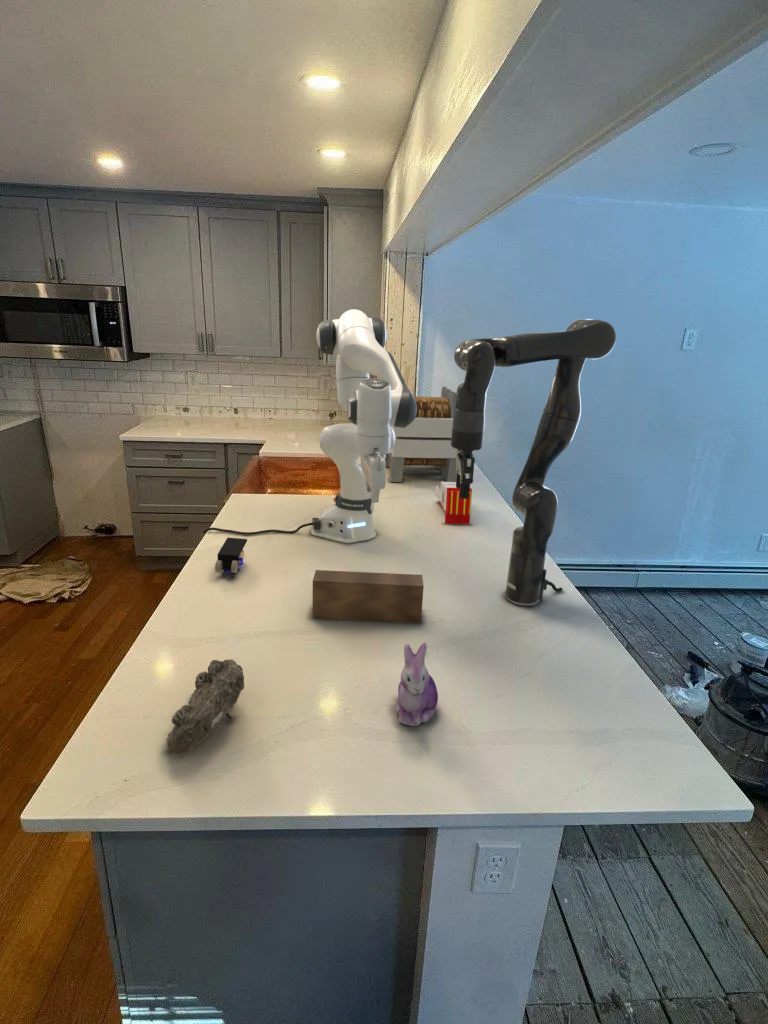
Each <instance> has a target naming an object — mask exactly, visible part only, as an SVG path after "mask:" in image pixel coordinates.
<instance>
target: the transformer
mask: <svg viewBox="0 0 768 1024" xmlns="http://www.w3.org/2000/svg"><path fill="white" fill-rule="evenodd" d="M440 393H441V394H440V396H415V395H413V396H414V398H415V400H416V405H417V414H416V418H415V419H414V421H413V422H412V423H411V424H409V425H408V426H407V427H405V428H400V427H392V428H393V430H394V432H395V436H396V441H395V445H394V447H393V449H392V450H391V452H390V453H388V454H386V458H385V467H388V468H389V475H388V476H389V477H388V478H389V480H390V482H391V483H402V482H403V475H404V469H405V466H406V467H407V466H411V467H412V466H413V467H415V466H416V467H417V466H418V467H436V468H437V470H438V469H439V473H440V474H441V475H443V478H444V479H445V482H456V478H457V473H456V469H457V468H456V467H455V466H456V455H457V450H458V449H455V448H453V447H452V446H451V436H452V425H453V416H454V411H455V402H456V392H455V391H453V390H452V389H451V388H447V386H442V387H441V392H440Z"/></svg>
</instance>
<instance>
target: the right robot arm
mask: <svg viewBox="0 0 768 1024" xmlns="http://www.w3.org/2000/svg"><path fill="white" fill-rule="evenodd" d="M616 341H617V333H616V330H615V328H614V326H613V325H612V324H611V323H610V322H608V321H605V320H604V319H603V320H602V319H594V318H579V319H575V320H574V321H573V322H571V323H570V324H569V325H568V327H567V328H566V330H564V331H554V332H553V331H551V332H550V331H549V332H530V333H529V332H527V333H519V334H511V335H506V336H501V337H488V338H487V337H484V338H471V339H467V340H464V341H462V342H460V343H459V345H457V347H456V348H455V351H454V354H453V360H454V363H455V365H456V366H457V367H458V368H459V369H461V370H462V371H465V376H464V380H463V382H461V383H459V384H458V385H457V388H456V392H455V393H456V402H455V411H454V416H453V425H452V436H451V446H452V447H453V448H455V449H458V450H457V455H456V466H455V467H456V468H457V469H456V473H457V478H456V487H457V488H460V498H461V499H468V498H469V492H470V488H471V485H472V484H473V483H474V469H475V462H476V458H475V456H474V454H473V452H474V451H479V450H481V449H482V448H483V444H484V443H483V442H484V434H485V426H486V425H485V424H486V405H487V404H486V403H487V392H488V389H489V387H490V384H491V381H492V378H493V375H494V372H495V368H496V367H499V368H512V367H513V368H514V367H518V366H519V367H520V366H524V365H530V364H536V363H541V362H547V361H548V362H549V361H555V360H557V363H556V364H557V365H556V369H555V373H554V376H553V380H552V383H551V386H550V389H549V392H548V396H547V400H546V401H545V405H544V407H543V411H542V414H541V416H540V420H539V423H538V426H537V430H536V432H535V437H534V439H533V442H532V445H531V448H530V450H529V454H528V457H527V459H526V461H525V464H524V467H523V469H522V471H521V472H520V475H519V478H518V480H517V482H516V484H515V486H514V489H513V492H512V497H511V503H512V506H513V508H514V510H515V511H516V512H518V513H520V514H521V515H523V516H524V522H523V525H522V526H518V527H516V528H514V529H513V533H512V539H511V540H512V541H511V547H510V555H509V563H508V570H507V579H506V584H505V585H506V586H505V592H504V598H505V600H506V601H508V602H509V603H511V604H514V605H517V606H521V607H533V606H535V605H537V604H539V602H542V601H543V596H544V591H546V590H547V589H548V588H547V587H548V586H550V587H551V588H552V590H553V591H554V592H557V593H559V592H562V591H563V588H562V587H558V588H557V586H556V584H555V583H553V582H552V581H550V580H548V579H547V578H546V576H547V569H546V568H545V563H546V562H545V561H546V556H547V549H548V542H549V539H550V537H551V536H552V534H553V531H554V528H555V527H554V526H555V521H556V516H557V512H558V507H559V505H558V504H559V500H558V496H557V494H556V493H555V491H554V490H553V489H551V488H549V487H547V486H545V482H546V478H547V475H548V473H549V470H550V469H551V466H552V465H553V463H554V462H555V460H556V459H557V458H558V457H559V456H560V455H562V453H563V452H564V451H565V450H566V449H567V448H568V447H569V446H570V444H571V443H572V441H573V440H574V436H575V433H576V431H577V429H578V427H579V426H578V425H579V423H580V419H581V416H582V415H581V414H582V398H581V390H580V381H581V375H582V372H583V368H584V366H585V363H586V361H587V360H599V359H602V358H604V357H606V356H608V355H609V354H610V353H611V352H612V350H613V349H614V347H615V344H616ZM467 476H468V477H467Z"/></svg>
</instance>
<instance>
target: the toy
mask: <svg viewBox="0 0 768 1024" xmlns="http://www.w3.org/2000/svg"><path fill="white" fill-rule="evenodd" d="M434 497H435V498H436V499H437V503H438V504H439V505H440V506H441V508H443V510H444V511H445V515H444V524H448V525H449V524H451V525H470V522H471V521H470V520H471V515H472V513H471V512H472V497H473V489H472V488H471V487H470V492H469V498H468V499H461V498H460V488H457V487H456V482H447V481H440V487H439V486H438V485H435V491H434Z"/></svg>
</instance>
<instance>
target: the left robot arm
mask: <svg viewBox="0 0 768 1024" xmlns="http://www.w3.org/2000/svg"><path fill="white" fill-rule="evenodd" d="M315 334H316V335H315V338H316V343H317V344H316V345H317V346H318V348H319V350H320V352H321V353H323V354H325V355H330V356H333V355H336V363H335V379H336V380H335V383H336V393H337V403H338V405H339V408H341V410H343V411H344V412H346V413H347V414H346V415H347V416H346V418H347V420H348V421H349V422H348V423H347V422H344V423H343V422H342V423H334V424H331V425H327V426H324V427H323V428H322V430H321V432H320V434H319V439H318V441H319V446H320V449H321V451H322V452H323V454H325V455H326V456H327V457H328V458H330V459H331V460H332V462H334V464H335V465H336V467H337V470H338V473H339V483H340V484H339V485H340V488H339V489H340V490H339V491H338V492H337V494H336V495H335V496H334V497H333V502H334V504H333V505H331V506H329V507H328V508H326V509H325V510H323V512H321V514H320V515H319V517H312V518H311V522H307V523H303V524H302V525H299V526H297V528H296V529H293V530H281V529H264V530H258V531H249V532H248V531H238V530H232V529H224V528H218V527H208V528H207V527H206V528H205V529H204V530H203V531H202V533H203V534H206V533H207V532H209V531H217V532H223V533H230V534H236V535H244V536H250V535H251V536H252V535H259V534H266V533H280V534H296V533H297V532H299V531H300V530H301V529H302V528H305V527H310V526H312V528H311V530H310V533H311V536H315V537H319V538H323V539H326V540H330V541H336V542H339V543H343V544H352V543H357V542H365V541H368V540H372V539H373V538H375V537H376V535H377V532H376V528H375V523H374V513H373V512H374V509H375V504H376V503H379V501H380V493H381V490H384V489H386V471H387V470H386V466H385V458H386V454H388V453H390V452H391V450H392V449H393V447H394V445H395V441H396V436H395V432H394V430H393V428H392V427H400V428H405V427H407V426H408V425H409V424H411V423H412V422H413V421H414V419H415V418H416V414H417V405H416V400H415V398H414V396H415V395H414V394H413V393H412V391H411V390H410V388H409V387H408V385H407V383H406V381H405V379H404V376H403V374H402V373H401V370H400V368H399V366H398V364H397V361H395V358H394V356H393V354H392V353H391V352H390V351H388V350H387V349H385V346H386V342H387V340H388V339H387V338H388V333H387V327H386V325H385V323H384V321H383V320H382V319H381V318H379V317H374V316H371V317H369V316H367V314H366V313H365V312H363V311H362V310H360V309H349V310H346V311H344V312H343V313H342V314H341V315H340V317H339V318H336V319H330V318H329V319H326V320H322V321H320V323H319V324H318V327H317V330H316V333H315ZM370 375H372V376H376V377H378V378H370ZM359 458H360V464H359V462H358V459H359Z"/></svg>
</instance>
